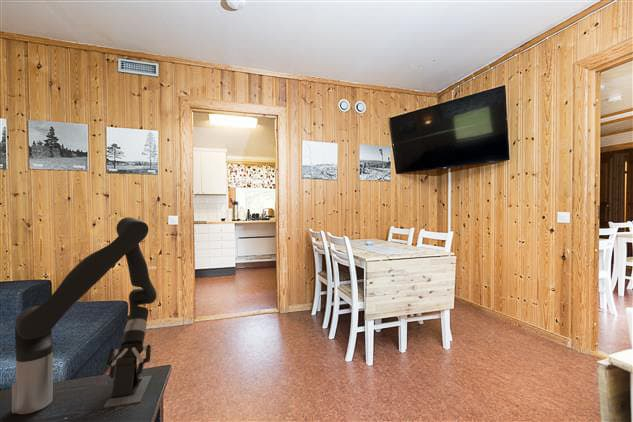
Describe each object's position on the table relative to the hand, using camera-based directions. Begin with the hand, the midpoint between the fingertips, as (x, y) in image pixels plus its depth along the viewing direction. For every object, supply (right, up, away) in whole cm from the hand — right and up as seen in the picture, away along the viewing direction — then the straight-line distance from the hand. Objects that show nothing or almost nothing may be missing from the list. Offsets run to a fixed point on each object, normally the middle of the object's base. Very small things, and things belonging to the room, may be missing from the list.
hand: (125, 376), depth 111 cm
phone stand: (0, -6, +1) cm, 6 cm away
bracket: (+1, -6, 0) cm, 6 cm away
